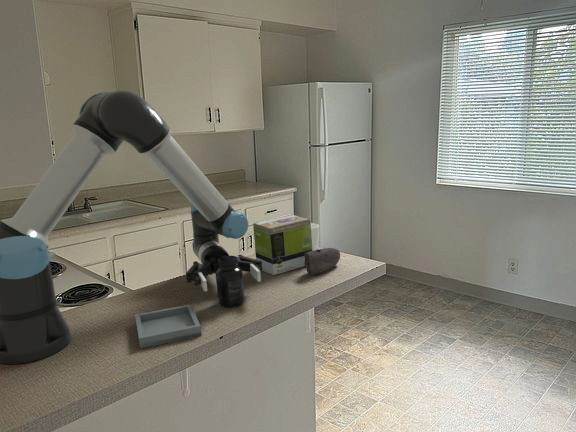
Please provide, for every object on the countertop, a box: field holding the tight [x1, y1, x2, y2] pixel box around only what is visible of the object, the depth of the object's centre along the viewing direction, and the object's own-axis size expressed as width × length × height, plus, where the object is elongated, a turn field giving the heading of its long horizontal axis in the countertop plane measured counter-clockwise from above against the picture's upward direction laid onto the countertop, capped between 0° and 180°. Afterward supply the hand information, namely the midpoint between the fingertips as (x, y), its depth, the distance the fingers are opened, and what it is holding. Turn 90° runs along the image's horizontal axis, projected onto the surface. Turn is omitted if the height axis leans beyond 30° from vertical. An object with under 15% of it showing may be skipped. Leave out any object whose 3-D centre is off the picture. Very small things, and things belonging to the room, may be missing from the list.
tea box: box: [252, 214, 312, 276], centre depth 145 cm, size 15×10×15 cm, turn 124°
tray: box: [134, 304, 203, 349], centre depth 107 cm, size 13×13×2 cm
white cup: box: [310, 222, 320, 251], centre depth 155 cm, size 8×8×10 cm
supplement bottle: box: [215, 255, 246, 309], centre depth 119 cm, size 7×7×12 cm
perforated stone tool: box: [304, 247, 341, 276], centre depth 141 cm, size 15×5×7 cm, turn 132°
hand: (232, 281), depth 116 cm, fingers open, 13 cm apart
